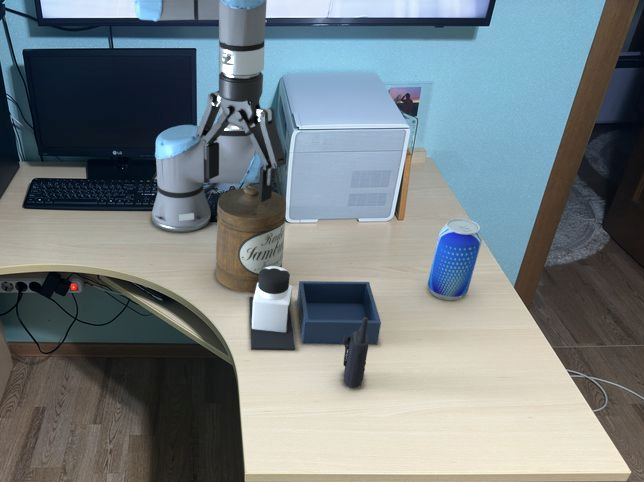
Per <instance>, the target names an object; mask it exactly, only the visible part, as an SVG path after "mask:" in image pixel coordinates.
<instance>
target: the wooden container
mask: <svg viewBox="0 0 644 482" xmlns="http://www.w3.org/2000/svg"><path fill="white" fill-rule="evenodd" d="M216 208H217V209H216V212H217V221H216V222H217V223H216V245H215V246H216V249H215V253H216V254H215V261H216V262H215V276H216V279H217V280H218V282H219V283H220V284H221V285H223V286H225V287H226V288H228V289H231V290H234V291H237V292H244V293H255V291H256V287H257V283H258V279H259V272H260V271H261V270H262V269H263V268H265V267H269V266H278V267H282V268H283V261H284V247H285V246H284V245H285V230H286V216H287V215H286V214H287V201H286V199H285V198H284V196H282V195H281V194H280V193H278V192H275V191H273V190H272V195H271V198H270V199H268V200H266V201H264V202H262V203H261V202H259V184H257V183H249V184H247V185H245V186H244V187H241V188H235V189H231V190H229V191H227V192H225V193H223V194H221V196H219V198H218V200H217V207H216Z"/></svg>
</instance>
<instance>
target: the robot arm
mask: <svg viewBox="0 0 644 482" xmlns="http://www.w3.org/2000/svg"><path fill="white" fill-rule="evenodd" d="M133 2H134V5H133V6H134V11H135V15H136V17H137V18H138V19H139V20H141V21H153V22H159V21H190V20H192V21H193V20H194V21H216V20H218V90H217V91H213V92H211V93H208V94H207V101H206V103H207V105H206V107H205V110H204V112H203V115H202V117H201V120H200V121H199V125H194V124H182V125H176V126H172V127H169V128H167V129H165V130H163V131H162V132H160V133H159V134H158V135H157V137H156V138H155V151H154V157H155V161H156V162H155V164H156V183H157V193H156V197H155V200H154V202H153V203H154V204H153V207H152V211H151V220H152V223H153V224H154V226H155V227H156V228H158V229H160V230H163V231H165V232H171V233H189V232H195V231H197V230H201V229H203V228H205V227H207V225H208V224H209V223H210V222H211V219H212V218H211V217H212V216H211V215H212V213H211V208H210V205H209V202H208V200H207V197H206V194H205V193H207V192H209V191H210V190H212V189H213V188H214V187H215V186H216V185H217V184H239V185H242V184H247V183H249V184H251V183H256V182H257V181H259V182H258V183H259V184H258V186H259V202H261V203H262V202H264V201H266V200H268V199H270V198H271V195H272V191H273V185H274V184H275V182H276V175H277V169H279V168H281V167H283V166H285V165H286V164H287V160H286V156H285V153H284V148H283V145H282V142H281V137H280V135H279V132H278V128H277V125H276V118H275V117H276V116H275V109H274V107H268V108H262V107H261V105H260V104H261V103H260V100H261V97H262V95H263V87H264V74H263V73H262V72H263V71H264V69H265V41H266V40H265V35H266V22H267V21H266V19H267V0H133ZM216 118H217V119H216ZM204 184H210V185H209V186H207V187H205V188H204Z"/></svg>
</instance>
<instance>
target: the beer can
mask: <svg viewBox="0 0 644 482" xmlns="http://www.w3.org/2000/svg"><path fill="white" fill-rule="evenodd" d="M482 242H483V236H482V232H481V226H480V224H479V223H478V222H476V221H474V220H472V219H468V218H463V217H455V218H450V219H449V220H447V222H446V224H445V225H444V226H443V227H442V228H441V229H440V231H439V232H438V238H437V242H436V246H435V250H434V254H433V259H432V263H431V268H430V271H429V275H428V280H427V288H428V289H429V291H430V293H431V294H432V295H433V296H434V297H436V298H438V299H441V300H445V301H455V300H459V299H461V298H462V297H463V296H465V295H466V294H467V293H468V291H469V288H470V284H471V281H472V277H473V274H474V270H475V267H476V263H477V259H478V257H479V253H480V249H481V246H482Z"/></svg>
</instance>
